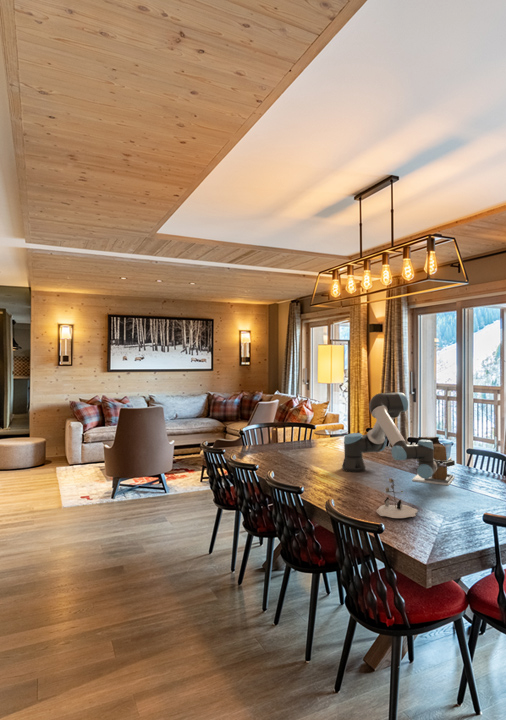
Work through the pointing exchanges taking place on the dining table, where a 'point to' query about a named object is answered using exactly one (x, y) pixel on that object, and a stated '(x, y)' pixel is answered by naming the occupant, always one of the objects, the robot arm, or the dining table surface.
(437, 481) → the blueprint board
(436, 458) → the block
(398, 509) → the figurine
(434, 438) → the owl
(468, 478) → the dining table surface
